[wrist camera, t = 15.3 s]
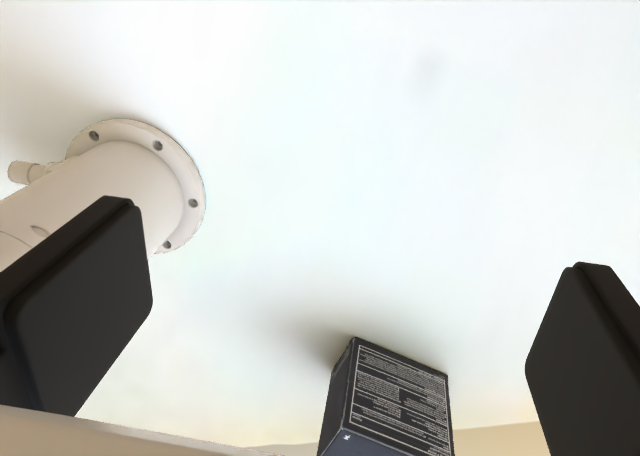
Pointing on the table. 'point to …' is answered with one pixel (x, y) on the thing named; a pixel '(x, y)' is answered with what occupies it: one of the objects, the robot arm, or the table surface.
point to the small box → (385, 406)
